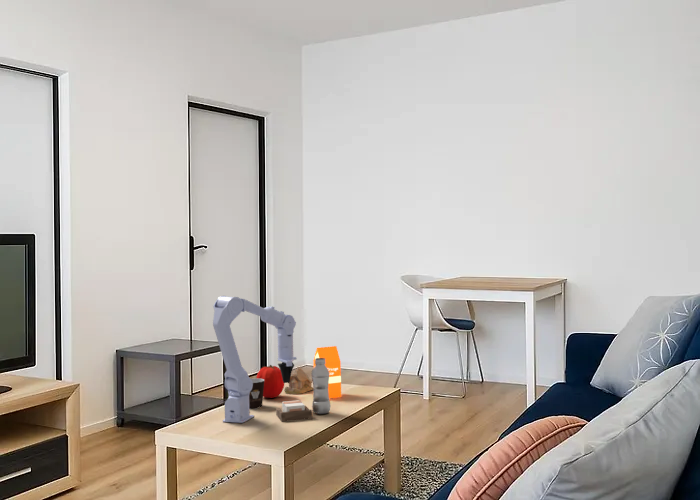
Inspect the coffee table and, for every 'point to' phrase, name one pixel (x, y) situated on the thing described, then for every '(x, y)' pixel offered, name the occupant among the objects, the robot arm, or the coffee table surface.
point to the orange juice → (331, 369)
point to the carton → (292, 406)
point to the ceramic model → (299, 382)
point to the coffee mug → (256, 393)
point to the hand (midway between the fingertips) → (286, 382)
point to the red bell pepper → (271, 381)
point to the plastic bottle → (320, 387)
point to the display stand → (294, 415)
